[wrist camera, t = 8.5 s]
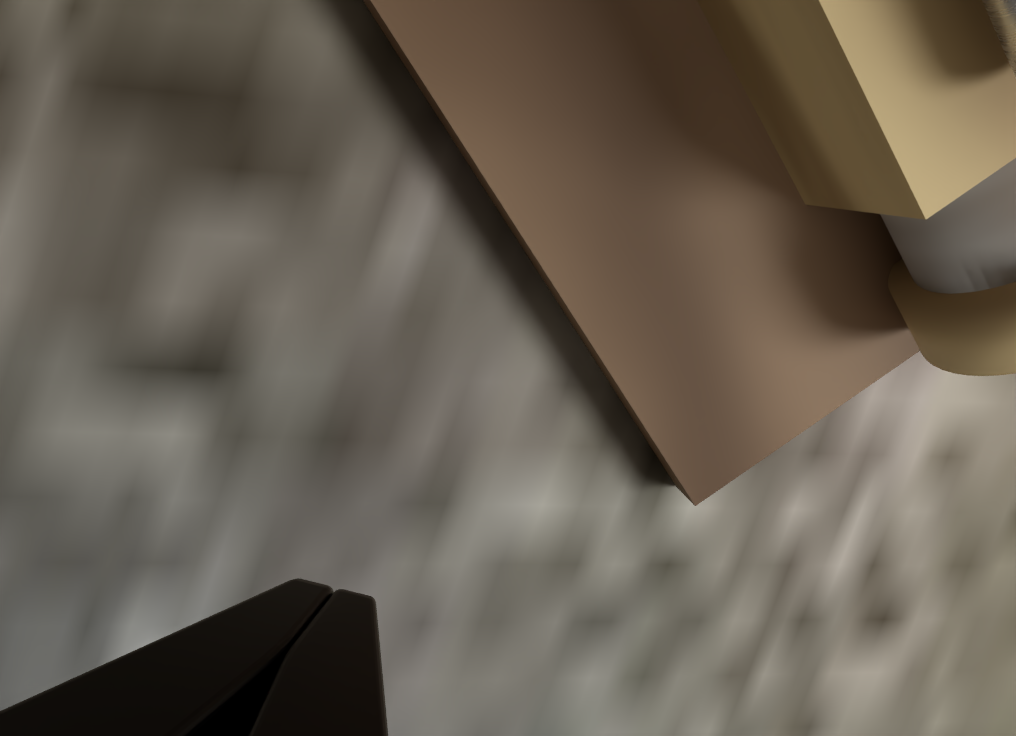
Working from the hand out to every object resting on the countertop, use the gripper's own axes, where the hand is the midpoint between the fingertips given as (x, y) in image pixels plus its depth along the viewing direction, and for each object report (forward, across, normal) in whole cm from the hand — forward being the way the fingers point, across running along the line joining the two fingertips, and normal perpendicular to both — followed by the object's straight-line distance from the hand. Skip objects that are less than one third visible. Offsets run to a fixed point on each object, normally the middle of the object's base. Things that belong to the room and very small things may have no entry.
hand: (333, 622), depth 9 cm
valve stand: (+15, +5, +5) cm, 17 cm away
